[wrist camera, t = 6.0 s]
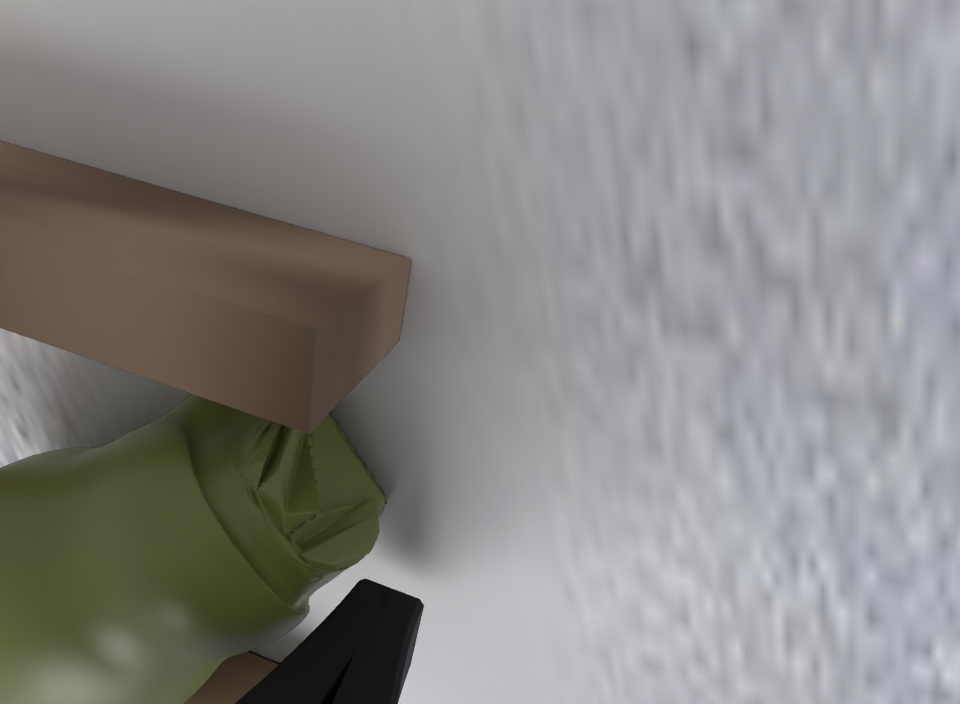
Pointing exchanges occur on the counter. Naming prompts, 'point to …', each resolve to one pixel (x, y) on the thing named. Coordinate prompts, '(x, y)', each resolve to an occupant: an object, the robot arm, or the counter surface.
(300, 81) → the counter surface
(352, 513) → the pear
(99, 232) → the walnut frame
